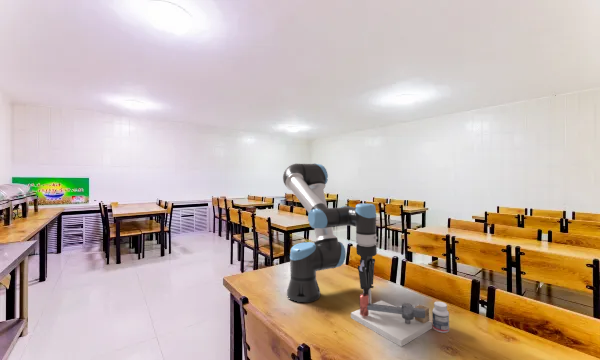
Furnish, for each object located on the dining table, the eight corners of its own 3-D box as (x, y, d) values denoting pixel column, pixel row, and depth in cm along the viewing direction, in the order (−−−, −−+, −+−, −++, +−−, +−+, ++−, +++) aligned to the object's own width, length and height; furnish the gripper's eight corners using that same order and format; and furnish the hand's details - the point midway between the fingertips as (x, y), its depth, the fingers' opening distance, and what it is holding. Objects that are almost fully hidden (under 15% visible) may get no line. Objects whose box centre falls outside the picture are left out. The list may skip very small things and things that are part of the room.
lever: (359, 316, 99) (359, 297, 99) (360, 311, 103) (360, 292, 103) (425, 325, 93) (425, 304, 93) (424, 319, 96) (423, 299, 96)
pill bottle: (434, 323, 99) (434, 299, 99) (450, 328, 96) (450, 303, 96) (430, 329, 95) (430, 304, 95) (447, 335, 92) (447, 308, 92)
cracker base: (350, 317, 104) (350, 308, 104) (381, 304, 114) (381, 295, 114) (401, 346, 86) (401, 334, 86) (432, 328, 96) (432, 317, 96)
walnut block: (414, 319, 98) (414, 307, 98) (419, 316, 100) (419, 304, 100) (424, 323, 96) (423, 310, 96) (429, 320, 98) (429, 307, 98)
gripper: (370, 249, 97) (371, 315, 97) (381, 241, 108) (382, 301, 108) (350, 246, 101) (351, 309, 101) (363, 239, 112) (363, 296, 112)
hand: (367, 305), depth 104 cm, fingers closed
